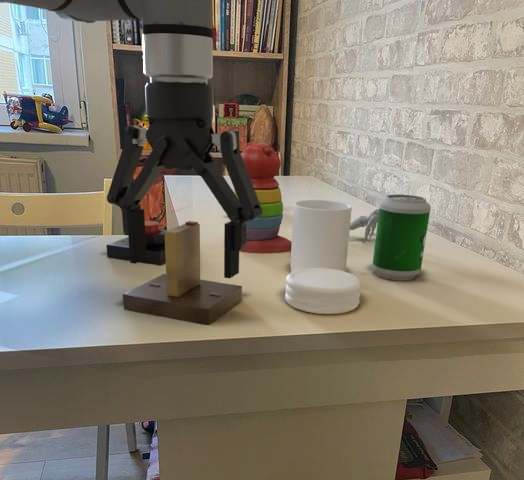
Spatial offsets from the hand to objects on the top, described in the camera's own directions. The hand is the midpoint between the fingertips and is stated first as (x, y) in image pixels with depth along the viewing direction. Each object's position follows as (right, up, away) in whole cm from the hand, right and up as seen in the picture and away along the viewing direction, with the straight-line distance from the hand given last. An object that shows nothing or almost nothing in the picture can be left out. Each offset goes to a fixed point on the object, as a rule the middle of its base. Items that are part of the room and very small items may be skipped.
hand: (183, 268), depth 71 cm
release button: (-9, +9, +22) cm, 26 cm away
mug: (+18, +2, +18) cm, 26 cm away
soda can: (+31, +1, +18) cm, 36 cm away
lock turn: (0, -3, +1) cm, 3 cm away
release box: (-9, +6, +24) cm, 26 cm away
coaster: (+18, -4, +5) cm, 19 cm away
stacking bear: (+9, +8, +31) cm, 34 cm away
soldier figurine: (+29, +11, +39) cm, 50 cm away
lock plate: (0, -4, +2) cm, 5 cm away
